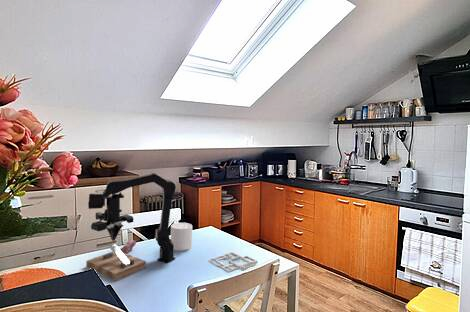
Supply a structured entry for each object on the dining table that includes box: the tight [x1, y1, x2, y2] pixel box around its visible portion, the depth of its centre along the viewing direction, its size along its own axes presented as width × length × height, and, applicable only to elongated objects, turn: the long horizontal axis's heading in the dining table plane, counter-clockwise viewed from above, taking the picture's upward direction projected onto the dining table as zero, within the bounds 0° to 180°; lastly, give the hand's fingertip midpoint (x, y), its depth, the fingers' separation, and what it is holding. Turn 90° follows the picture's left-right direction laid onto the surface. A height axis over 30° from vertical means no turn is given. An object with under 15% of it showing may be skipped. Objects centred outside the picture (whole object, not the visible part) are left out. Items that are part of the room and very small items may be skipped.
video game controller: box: [119, 239, 137, 254], centre depth 158 cm, size 10×5×7 cm, turn 169°
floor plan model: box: [208, 251, 258, 273], centre depth 151 cm, size 19×25×2 cm
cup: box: [170, 222, 193, 252], centre depth 167 cm, size 12×12×12 cm
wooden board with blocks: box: [85, 251, 147, 282], centre depth 139 cm, size 22×16×3 cm
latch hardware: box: [102, 251, 134, 268], centre depth 139 cm, size 16×6×2 cm, turn 57°
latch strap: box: [108, 243, 131, 267], centre depth 138 cm, size 14×3×1 cm, turn 58°
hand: (113, 240), depth 140 cm, fingers closed
